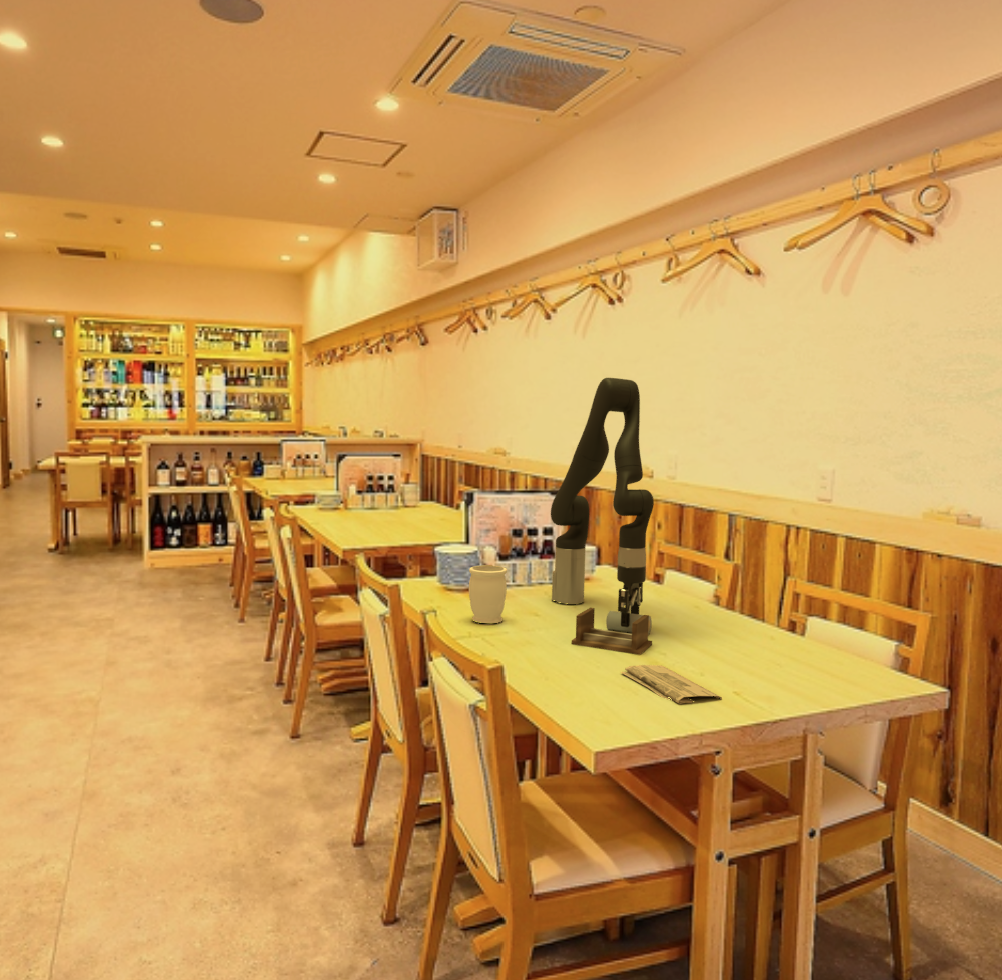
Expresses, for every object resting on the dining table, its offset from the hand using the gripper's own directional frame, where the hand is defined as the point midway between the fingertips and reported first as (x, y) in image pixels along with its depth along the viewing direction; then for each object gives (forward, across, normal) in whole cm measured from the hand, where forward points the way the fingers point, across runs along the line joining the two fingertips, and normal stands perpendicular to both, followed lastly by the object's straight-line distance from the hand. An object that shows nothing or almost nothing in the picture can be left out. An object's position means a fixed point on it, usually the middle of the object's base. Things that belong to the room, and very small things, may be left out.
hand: (630, 623), depth 215 cm
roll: (+3, 0, 0) cm, 3 cm away
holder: (+3, +14, 0) cm, 14 cm away
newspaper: (+4, +38, +21) cm, 43 cm away
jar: (+2, +10, -38) cm, 40 cm away
